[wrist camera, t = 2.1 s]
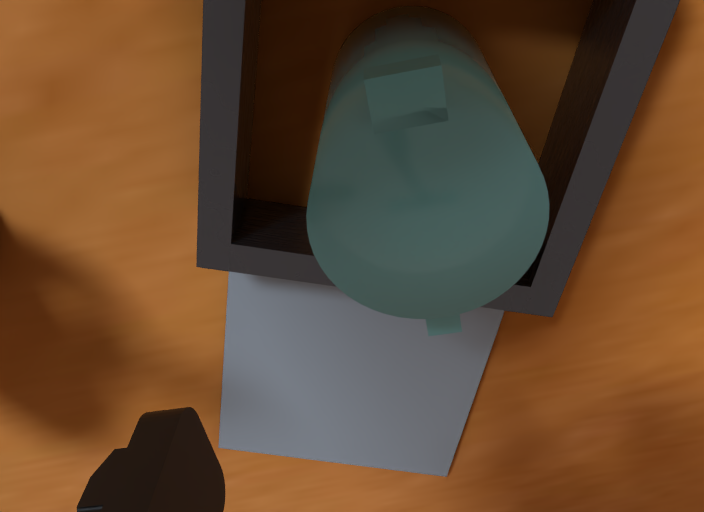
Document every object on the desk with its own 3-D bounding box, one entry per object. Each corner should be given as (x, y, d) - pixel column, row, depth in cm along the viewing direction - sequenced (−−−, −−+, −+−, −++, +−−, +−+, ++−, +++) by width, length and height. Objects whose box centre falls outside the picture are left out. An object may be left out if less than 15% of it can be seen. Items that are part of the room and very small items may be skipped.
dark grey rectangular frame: (233, -164, 20) (207, -165, 17) (661, -88, 20) (709, -75, 17) (216, 220, 27) (196, 266, 24) (533, 266, 27) (552, 317, 25)
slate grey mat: (231, 248, 27) (230, 253, 27) (508, 288, 28) (510, 293, 28) (220, 441, 34) (218, 447, 34) (445, 470, 35) (446, 476, 34)
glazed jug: (310, -1, 22) (269, 97, 14) (476, -35, 21) (542, 46, 13) (359, 218, 27) (350, 393, 18) (497, 195, 26) (556, 367, 17)
